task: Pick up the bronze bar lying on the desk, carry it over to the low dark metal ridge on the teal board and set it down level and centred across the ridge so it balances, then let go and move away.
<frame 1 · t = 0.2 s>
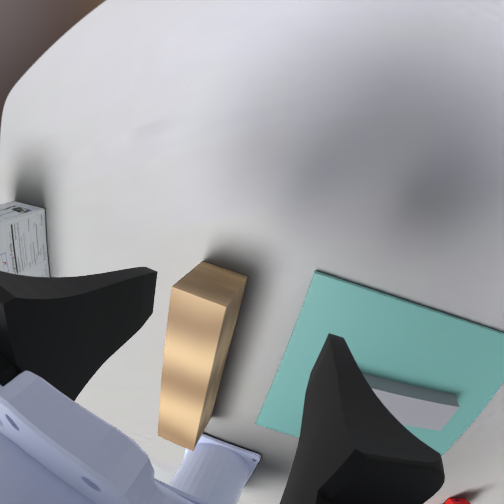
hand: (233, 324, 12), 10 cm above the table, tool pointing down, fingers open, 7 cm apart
light bulb box: (33, 250, 28), on the table
bronze bar: (207, 351, 26), on the table
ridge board: (394, 393, 22), on the table
red blue dreidel: (450, 501, 25), on the table
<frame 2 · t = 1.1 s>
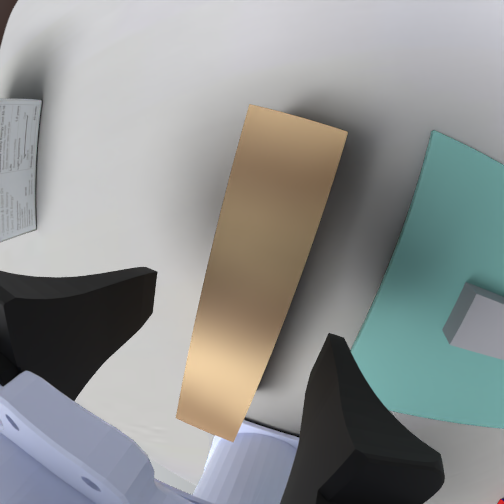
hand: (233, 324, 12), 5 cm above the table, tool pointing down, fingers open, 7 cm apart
light bulb box: (19, 163, 20), on the table
bronze bar: (265, 275, 17), on the table
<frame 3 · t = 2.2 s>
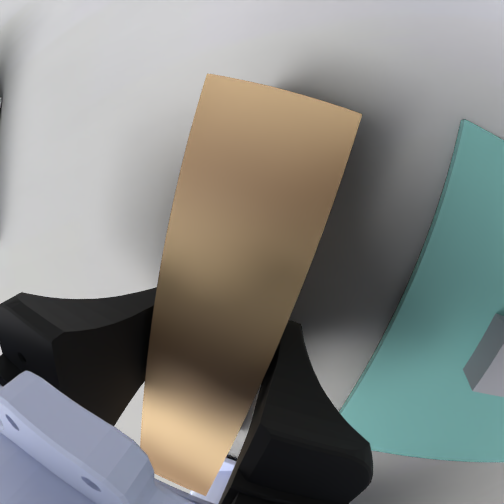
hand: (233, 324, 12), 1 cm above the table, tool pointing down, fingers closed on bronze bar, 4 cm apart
bronze bar: (244, 306, 13), on the table, touching gripper
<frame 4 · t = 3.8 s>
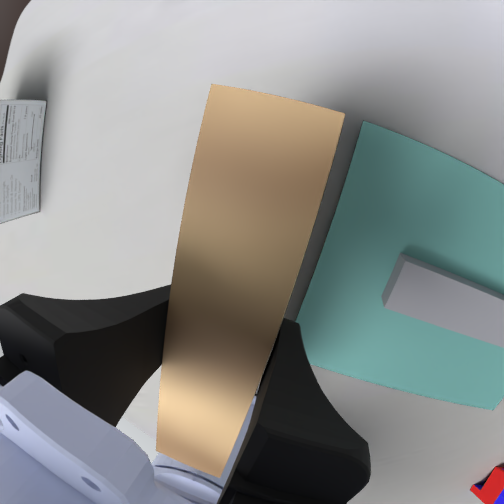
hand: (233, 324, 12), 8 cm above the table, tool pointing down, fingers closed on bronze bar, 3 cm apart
light bulb box: (26, 155, 23), on the table
bronze bar: (251, 293, 15), point 6 cm above the table, touching gripper
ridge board: (458, 298, 17), on the table
red blue dreidel: (495, 472, 21), on the table
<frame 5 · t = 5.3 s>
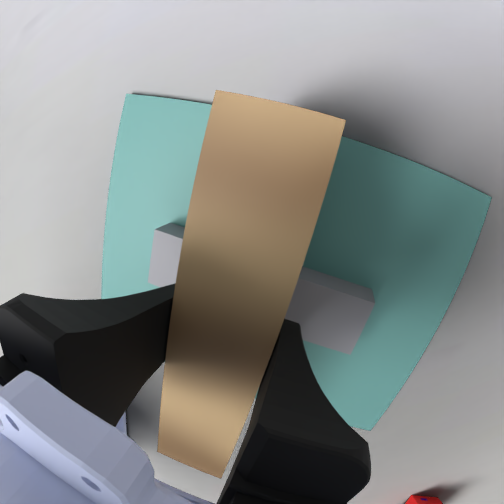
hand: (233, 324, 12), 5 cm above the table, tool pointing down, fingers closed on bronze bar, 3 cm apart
bronze bar: (252, 295, 15), point 2 cm above the table, touching gripper, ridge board
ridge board: (261, 278, 17), on the table
red blue dreidel: (416, 500, 20), on the table
when the fingers open (5 cm above the table, at t = 5.9 s): bronze bar stays where it is, resting on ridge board.
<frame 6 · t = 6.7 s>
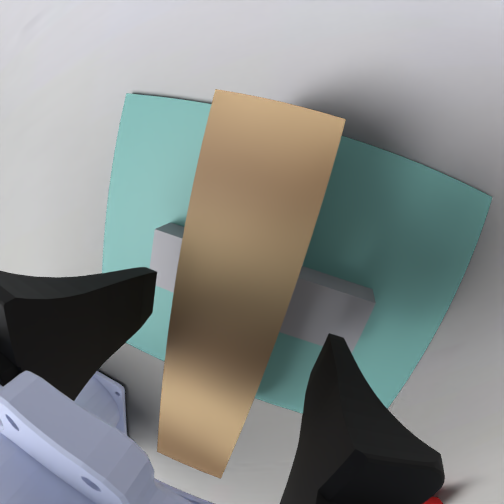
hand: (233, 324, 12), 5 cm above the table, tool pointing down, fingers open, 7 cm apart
bronze bar: (251, 295, 15), point 2 cm above the table, touching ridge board
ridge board: (262, 278, 17), on the table
red blue dreidel: (416, 500, 20), on the table
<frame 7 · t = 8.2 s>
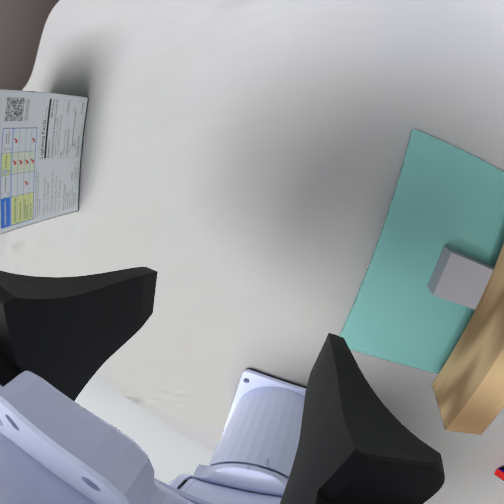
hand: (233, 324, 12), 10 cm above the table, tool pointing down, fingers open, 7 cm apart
light bulb box: (62, 153, 25), on the table
bronze bar: (500, 298, 16), point 2 cm above the table, touching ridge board
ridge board: (490, 286, 18), on the table
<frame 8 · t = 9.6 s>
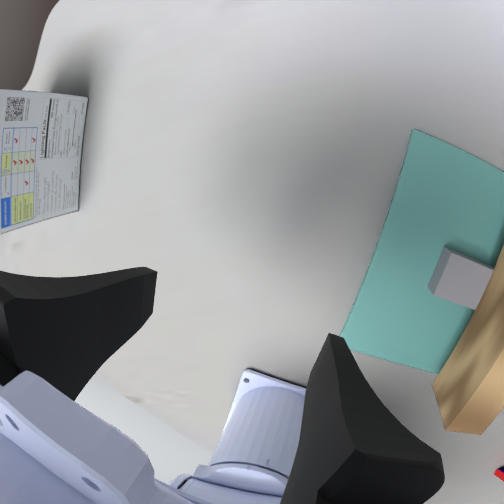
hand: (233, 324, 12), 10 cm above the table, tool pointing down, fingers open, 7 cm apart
light bulb box: (62, 152, 25), on the table
bronze bar: (500, 298, 16), point 2 cm above the table, touching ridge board
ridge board: (490, 286, 18), on the table
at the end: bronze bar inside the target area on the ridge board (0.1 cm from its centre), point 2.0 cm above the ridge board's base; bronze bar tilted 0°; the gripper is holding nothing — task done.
